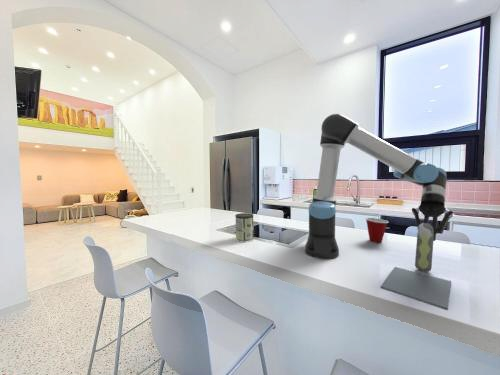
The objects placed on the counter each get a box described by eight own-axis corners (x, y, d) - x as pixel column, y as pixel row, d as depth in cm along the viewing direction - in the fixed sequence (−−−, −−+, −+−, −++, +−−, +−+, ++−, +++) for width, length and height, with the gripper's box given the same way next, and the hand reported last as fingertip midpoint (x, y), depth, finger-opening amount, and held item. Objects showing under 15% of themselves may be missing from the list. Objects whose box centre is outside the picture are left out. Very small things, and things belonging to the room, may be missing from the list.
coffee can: (242, 235, 128) (242, 212, 127) (257, 238, 123) (256, 214, 122) (232, 240, 120) (231, 215, 119) (247, 243, 114) (246, 217, 113)
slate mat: (394, 267, 83) (394, 266, 83) (451, 282, 71) (451, 281, 71) (380, 287, 69) (380, 286, 69) (447, 309, 57) (447, 308, 57)
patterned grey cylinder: (415, 261, 84) (417, 219, 76) (431, 265, 80) (435, 222, 73) (414, 270, 80) (416, 228, 73) (431, 274, 77) (435, 230, 69)
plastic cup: (391, 244, 109) (392, 221, 108) (368, 243, 111) (369, 221, 110) (383, 238, 119) (383, 217, 118) (362, 237, 121) (362, 216, 121)
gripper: (454, 204, 87) (452, 256, 76) (414, 202, 96) (407, 248, 85) (454, 192, 83) (452, 245, 72) (412, 191, 92) (405, 238, 81)
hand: (427, 246), depth 78 cm, fingers closed
